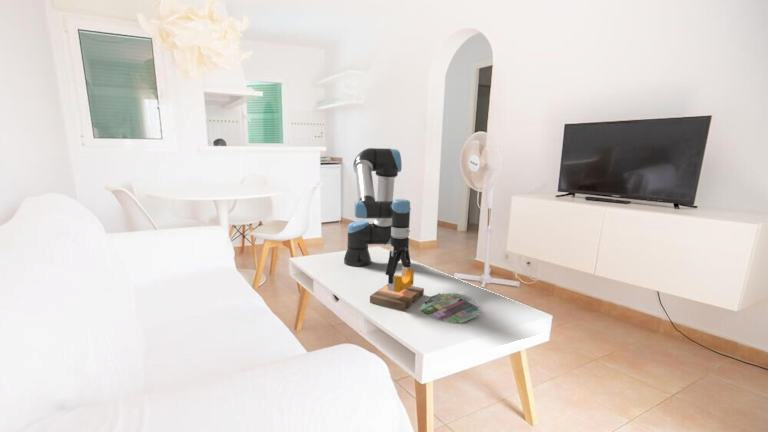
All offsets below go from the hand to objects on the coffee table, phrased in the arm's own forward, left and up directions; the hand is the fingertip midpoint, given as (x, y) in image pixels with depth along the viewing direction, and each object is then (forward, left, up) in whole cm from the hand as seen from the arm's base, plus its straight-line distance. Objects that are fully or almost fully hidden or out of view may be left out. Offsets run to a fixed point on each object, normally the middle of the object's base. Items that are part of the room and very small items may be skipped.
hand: (398, 285), depth 159 cm
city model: (0, +23, -6) cm, 24 cm away
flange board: (0, 0, -6) cm, 6 cm away
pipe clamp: (0, +2, 0) cm, 2 cm away
